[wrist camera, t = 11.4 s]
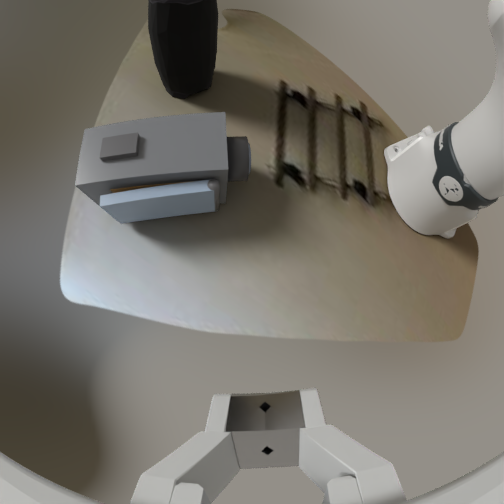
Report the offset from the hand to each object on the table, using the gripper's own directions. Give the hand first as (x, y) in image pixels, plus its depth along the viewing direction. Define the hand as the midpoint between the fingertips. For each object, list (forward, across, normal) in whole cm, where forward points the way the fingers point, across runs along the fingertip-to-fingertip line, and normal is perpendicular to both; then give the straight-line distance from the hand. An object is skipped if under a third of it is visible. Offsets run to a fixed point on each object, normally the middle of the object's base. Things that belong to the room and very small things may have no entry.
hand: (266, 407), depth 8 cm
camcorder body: (+30, +11, -9) cm, 33 cm away
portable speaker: (+37, +10, -26) cm, 46 cm away
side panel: (+27, +11, -5) cm, 30 cm away
